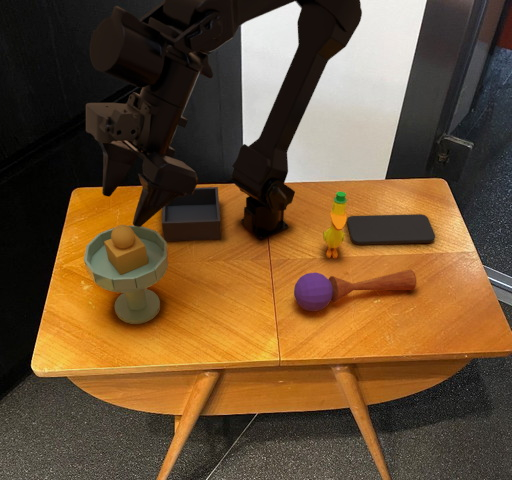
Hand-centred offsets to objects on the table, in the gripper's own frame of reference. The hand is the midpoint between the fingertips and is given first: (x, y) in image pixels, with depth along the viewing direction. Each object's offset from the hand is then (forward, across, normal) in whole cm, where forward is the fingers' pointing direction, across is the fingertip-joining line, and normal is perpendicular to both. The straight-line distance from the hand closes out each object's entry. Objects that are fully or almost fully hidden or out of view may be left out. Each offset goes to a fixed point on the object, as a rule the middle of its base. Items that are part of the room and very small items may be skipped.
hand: (120, 210), depth 75 cm
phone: (-11, +10, +47) cm, 50 cm away
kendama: (-1, +19, +34) cm, 38 cm away
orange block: (+7, +2, +3) cm, 7 cm away
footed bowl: (+14, +1, +9) cm, 17 cm away
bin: (+3, -12, +23) cm, 26 cm away
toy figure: (-4, +9, +36) cm, 38 cm away
